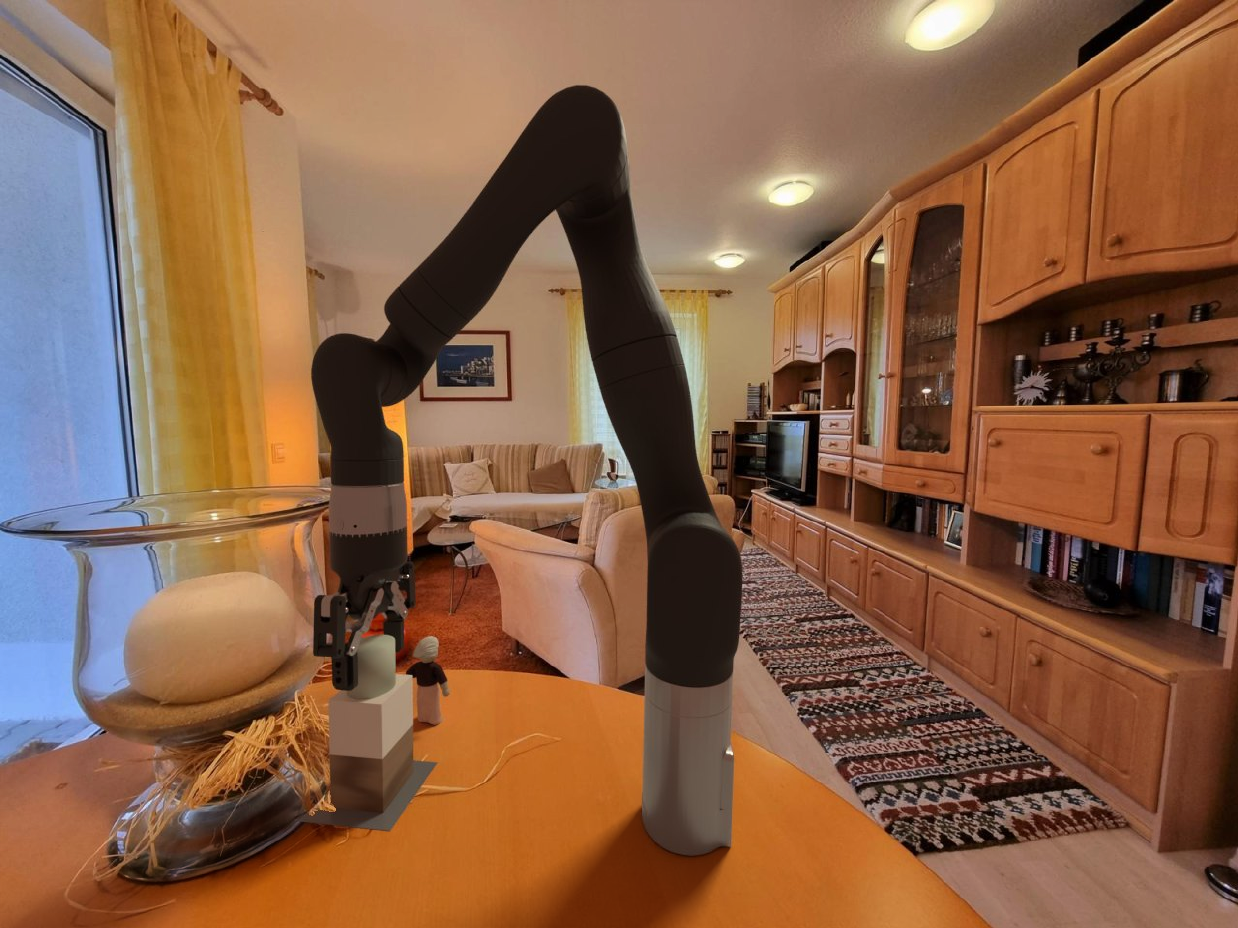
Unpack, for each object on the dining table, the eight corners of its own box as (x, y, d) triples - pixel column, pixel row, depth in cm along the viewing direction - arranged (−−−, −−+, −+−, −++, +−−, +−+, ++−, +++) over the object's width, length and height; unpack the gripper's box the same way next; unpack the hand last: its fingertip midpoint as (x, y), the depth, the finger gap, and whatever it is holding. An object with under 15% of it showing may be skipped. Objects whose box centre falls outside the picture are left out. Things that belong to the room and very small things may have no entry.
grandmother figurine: (460, 718, 68) (459, 633, 67) (446, 735, 64) (446, 645, 63) (411, 713, 69) (410, 629, 68) (394, 729, 65) (393, 641, 64)
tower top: (413, 724, 55) (412, 675, 55) (382, 759, 49) (381, 704, 49) (365, 720, 56) (364, 671, 56) (329, 754, 50) (328, 700, 50)
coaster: (437, 768, 58) (437, 762, 58) (390, 837, 48) (389, 830, 48) (361, 761, 59) (361, 755, 59) (299, 828, 49) (299, 820, 49)
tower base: (413, 772, 56) (413, 724, 55) (383, 812, 50) (382, 759, 49) (366, 767, 56) (365, 720, 56) (330, 807, 50) (329, 754, 50)
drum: (404, 677, 54) (403, 635, 54) (379, 700, 50) (378, 655, 49) (365, 674, 55) (364, 633, 55) (336, 697, 50) (335, 652, 50)
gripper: (359, 540, 44) (362, 707, 45) (434, 514, 58) (435, 642, 59) (285, 537, 44) (290, 701, 45) (377, 512, 59) (379, 638, 60)
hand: (372, 667), depth 52 cm, fingers open, 8 cm apart
